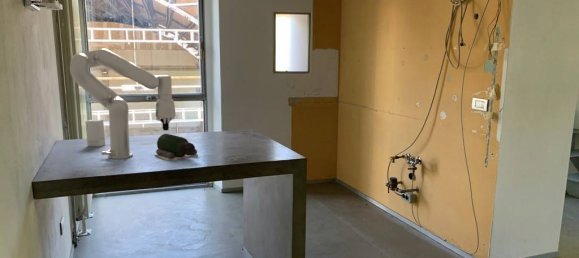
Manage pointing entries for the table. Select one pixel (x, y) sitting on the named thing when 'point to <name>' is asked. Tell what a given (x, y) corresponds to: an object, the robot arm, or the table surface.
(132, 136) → the table surface
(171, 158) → the cradle
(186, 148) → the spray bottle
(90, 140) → the skincare box
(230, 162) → the table surface
